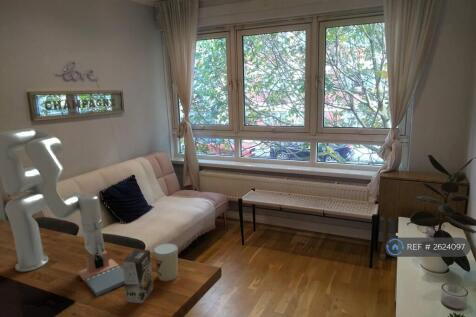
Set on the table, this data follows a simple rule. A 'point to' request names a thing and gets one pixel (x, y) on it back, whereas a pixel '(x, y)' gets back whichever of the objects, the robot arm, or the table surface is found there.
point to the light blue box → (106, 281)
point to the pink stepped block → (91, 269)
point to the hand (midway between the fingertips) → (98, 265)
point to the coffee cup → (166, 261)
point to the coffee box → (138, 276)
